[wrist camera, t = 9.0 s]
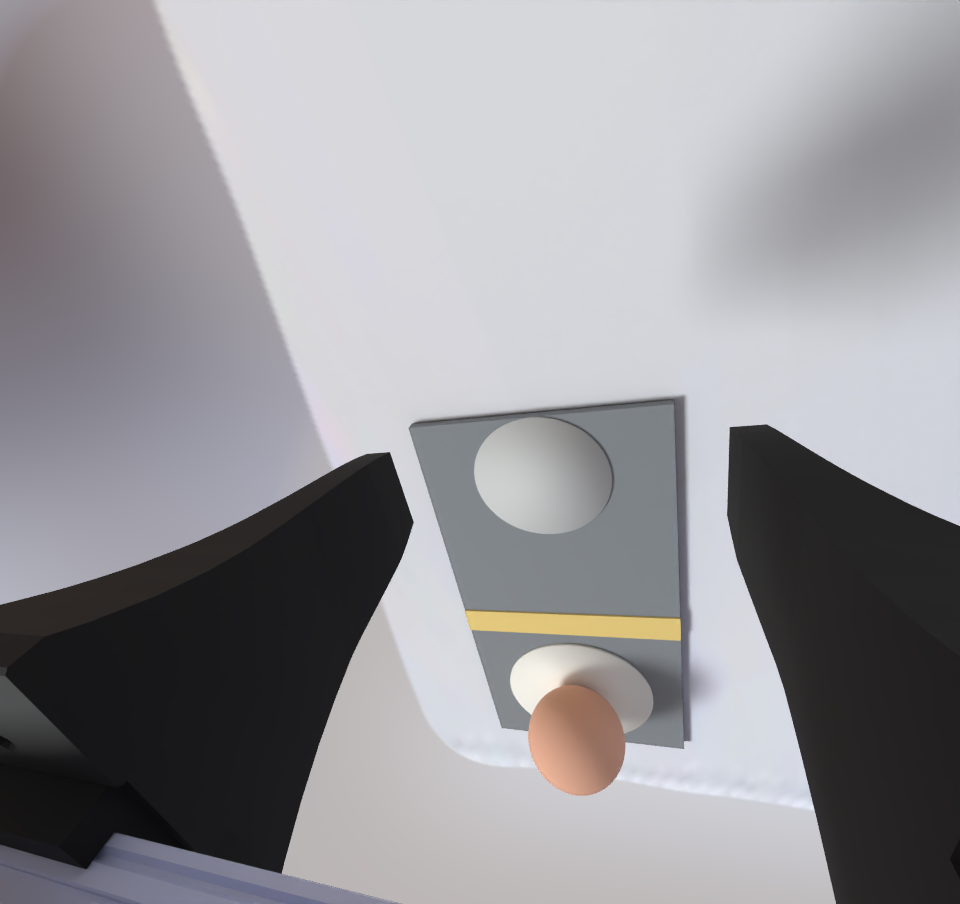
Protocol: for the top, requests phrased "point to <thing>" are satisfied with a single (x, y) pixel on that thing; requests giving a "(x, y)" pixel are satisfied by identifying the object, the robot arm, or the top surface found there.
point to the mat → (565, 542)
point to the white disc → (583, 679)
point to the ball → (576, 740)
